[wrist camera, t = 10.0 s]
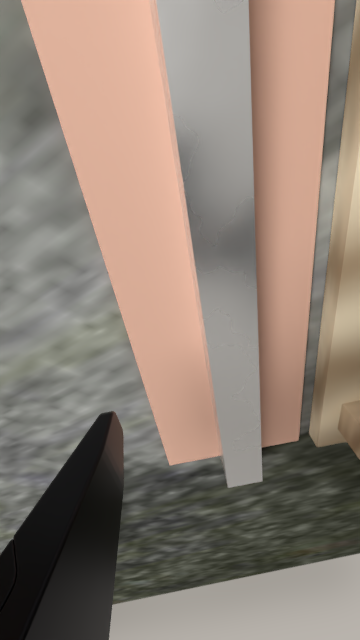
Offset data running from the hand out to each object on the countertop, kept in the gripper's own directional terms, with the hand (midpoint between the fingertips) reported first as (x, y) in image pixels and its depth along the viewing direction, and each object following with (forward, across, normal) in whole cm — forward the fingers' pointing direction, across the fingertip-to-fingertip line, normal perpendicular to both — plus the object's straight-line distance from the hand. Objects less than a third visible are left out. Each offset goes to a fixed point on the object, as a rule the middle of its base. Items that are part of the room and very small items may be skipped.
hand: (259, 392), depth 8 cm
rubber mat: (+7, 0, 0) cm, 7 cm away
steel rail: (+7, 0, 0) cm, 7 cm away
